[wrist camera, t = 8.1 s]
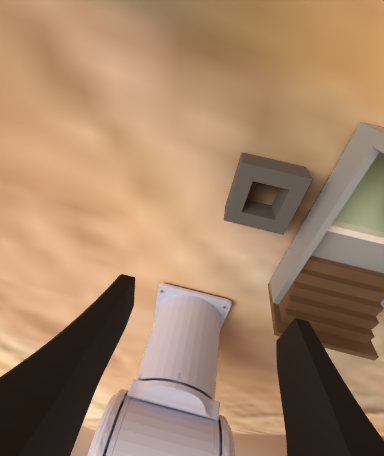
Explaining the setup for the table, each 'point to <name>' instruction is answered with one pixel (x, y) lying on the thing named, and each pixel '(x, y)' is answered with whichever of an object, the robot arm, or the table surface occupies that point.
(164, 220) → the table surface
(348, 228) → the slate lane
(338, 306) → the walnut step ramp
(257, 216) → the square tube segment
